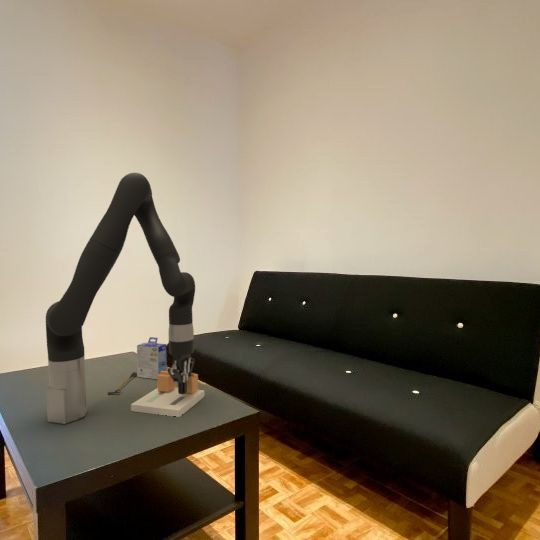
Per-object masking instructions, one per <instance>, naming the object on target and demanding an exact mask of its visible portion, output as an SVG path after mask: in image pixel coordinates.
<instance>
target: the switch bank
mask: <svg viewBox="0 0 540 540" xmlns="http://www.w3.org/2000/svg"><path fill="white" fill-rule="evenodd" d="M204 397H205V390H203V389H202V390H201V389H198V390H197V391H195V392H194V393H193V394H189V393H185V394H179V393H178V387H176V386H175V388H174V389H173V390H171V391H170V392H163V391H158V387H157V388H155V389H154V390H152V391H150V392H149V393H147V394H145V395H144V396H142V397H141V398H139V399H137V400H136V401H135V402H132V403H131V404H130V411H131V412H136V413H137V412H138V413H145V414H150V415H151V414H153V415H158V414H159V415H158V416H165V415H167V416H166V417H173V416H176V417H175V418H181V417H182V416H183V415H184V414H186V412H187V411H189V410H190V409H191V408H192V407H194V406H195V405H196V404H197V403H198V402H200V401H201V400H202V399H203V398H204ZM182 414H183V415H182Z"/></svg>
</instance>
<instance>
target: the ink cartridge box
mask: <svg viewBox="0 0 540 540" xmlns="http://www.w3.org/2000/svg"><path fill="white" fill-rule="evenodd" d="M158 339H159V338H158V337H151V336H149V338H148V341H147V342H143V343H139V344H137V345H136V372H137V375H136V377H137V378H145V379H153V380H157V375H159V374H160V372H161V371H168V369H167V367H168V365H167V344H166V343H158ZM151 340H152V341H151Z"/></svg>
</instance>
